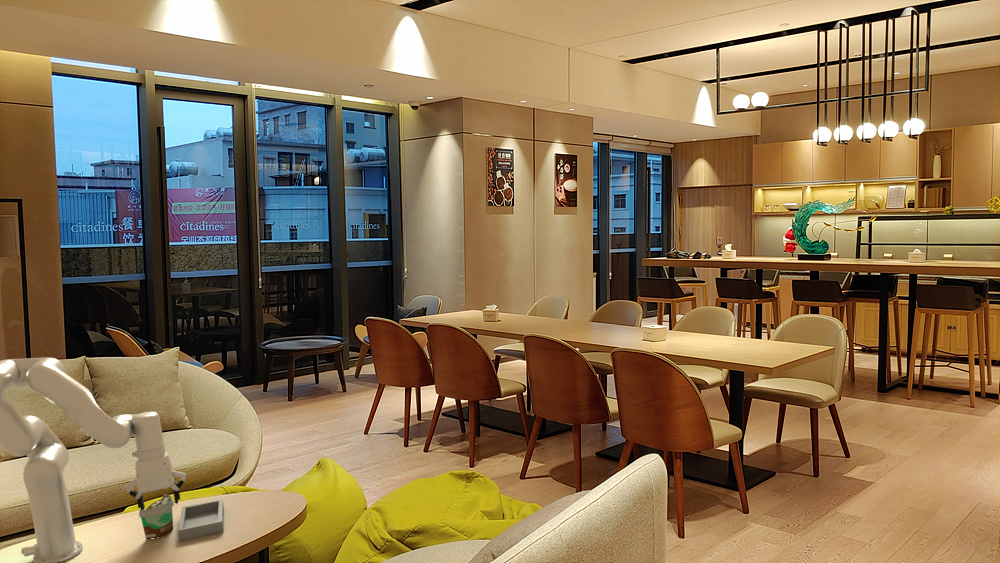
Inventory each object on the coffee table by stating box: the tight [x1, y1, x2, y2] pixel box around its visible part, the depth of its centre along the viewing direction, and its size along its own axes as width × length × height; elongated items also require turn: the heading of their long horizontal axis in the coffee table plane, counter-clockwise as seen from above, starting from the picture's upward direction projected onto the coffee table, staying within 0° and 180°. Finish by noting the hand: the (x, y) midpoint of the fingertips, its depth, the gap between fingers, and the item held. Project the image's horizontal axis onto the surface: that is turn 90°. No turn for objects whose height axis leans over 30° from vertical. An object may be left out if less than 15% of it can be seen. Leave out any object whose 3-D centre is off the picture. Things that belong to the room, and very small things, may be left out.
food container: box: [138, 494, 175, 540], centre depth 227 cm, size 12×6×10 cm, turn 168°
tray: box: [177, 498, 225, 543], centre depth 231 cm, size 12×18×4 cm
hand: (160, 505), depth 226 cm, fingers open, 9 cm apart
